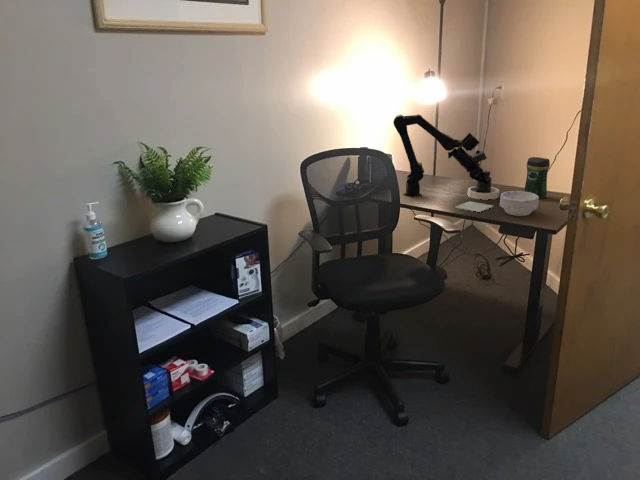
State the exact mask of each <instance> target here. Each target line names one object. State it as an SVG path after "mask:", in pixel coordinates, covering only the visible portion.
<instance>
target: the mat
mask: <svg viewBox="0 0 640 480" xmlns="http://www.w3.org/2000/svg"><path fill="white" fill-rule="evenodd" d="M489 208H490V209H493V208H494V205H493V204H492V205H491V204H486V203H481V202H475V201H466V202H464V203H461V204H459V205H456V206H454V209H459V210H463V209H464V211H468V210H470V211H469V212H473V211H476V212H475V213H477V212H480V213H482V212H481V211H483V212H484V210H485V211H487V210H489Z"/></svg>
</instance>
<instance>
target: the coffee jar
mask: <svg viewBox="0 0 640 480" xmlns="http://www.w3.org/2000/svg"><path fill="white" fill-rule="evenodd" d="M525 167H526V180H525V183H524V184H525V185H524V190H523V191H524V192H530V193H533V194H536V195H538V197H539V199H542V200H543V199H545V198H546V197H547V192H548V190H547V189H548V186H547V185H548V183H547V182H548V180H547V179H548V172H549V170H550V168H551V166H550V159H549V158H546V157H540V156H539V157H537V156H531V157H529V158H527V162H526V166H525Z"/></svg>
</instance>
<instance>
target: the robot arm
mask: <svg viewBox="0 0 640 480" xmlns="http://www.w3.org/2000/svg"><path fill="white" fill-rule="evenodd" d="M392 124H393V126H394V128H395V130H396V132H397V134H398V135H399V136H400V140H401V142H402V145H403V148H404V150H405V153H406V157H407V159H408V163H409V168H410V173H409V174H408V175H407V176H406V182H405V183H406V184H405V193H403V195H404V196H407V197H411V198H413V197H418V196H422V193H421V192H420V190H421V185H420V181H421V180H422V179H423V178H424V173H425V169H424V167H423V163H422V161H420V162H419V161H418V160H417V156H416V154H415V153H416V152H415V149H414V148H413V144H412V142H411V139H410V136H409V131H408V126H413V125H418V126H419V127H421V128H422V129H423V130H424V131H425V132H427V133H428V134H429V135H430V136H432V137H433V138H434V139H435V140H436V141H437V142H438V143H439V144H440V146H441V147H442V148H443V149H444V150H446V151H448V152H447V158H448V159H451V158H452V157H453V158H454V159H455V160H456V161H457V163H459V165H460V166H461V167H462V168H463V169H464V170H466V172H467V173H468V176H469V177H470V178H471V180H475V181H476V182H477V181H480V182H482V183H485V184H487V183H488V182H487V180H486V179H485V177H484V176H483V174H482V173H483V170H484V169H483V168H482V166H481V165H480V162H482V161H485V160H486V159H487V156H486V153H485V151H481V150H479V149H477V150H476V151H475V153H474V154H473V155H471V154H468V152H472V151H473V150H474V149H475V148H476V147H477V146H478V145H479V144H480V141H479V140H478V139H477V138H476V136H474V135H473V134H472V133H470V132H468V133H466V135H465V136H464V137H463V138H462V139H455V138H453V137H452V136H451V135H448V134H447V133H444V132H442V131H440V129H438V128H436V126H435V125H433V124H432V123H430V122H429V121H428V120H427V119H425V118H424V117H423V115H421V114H419V113H418V114H412V115H403V114H397V115H396V116H395V117H394V118H393V123H392Z"/></svg>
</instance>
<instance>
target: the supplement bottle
mask: <svg viewBox="0 0 640 480" xmlns="http://www.w3.org/2000/svg"><path fill="white" fill-rule="evenodd" d="M482 174H483V176H484V177H485V179H486V180H487V182H488V183H487V184H485V183H482V182H480V181H477V180H476V185H475V186H476V192H478V193H491V187H492V181H493V178H492V177H491V170H487V169H486V170H484V169H483V173H482Z"/></svg>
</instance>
